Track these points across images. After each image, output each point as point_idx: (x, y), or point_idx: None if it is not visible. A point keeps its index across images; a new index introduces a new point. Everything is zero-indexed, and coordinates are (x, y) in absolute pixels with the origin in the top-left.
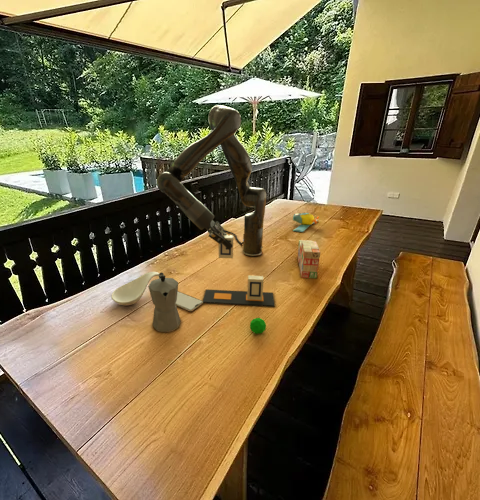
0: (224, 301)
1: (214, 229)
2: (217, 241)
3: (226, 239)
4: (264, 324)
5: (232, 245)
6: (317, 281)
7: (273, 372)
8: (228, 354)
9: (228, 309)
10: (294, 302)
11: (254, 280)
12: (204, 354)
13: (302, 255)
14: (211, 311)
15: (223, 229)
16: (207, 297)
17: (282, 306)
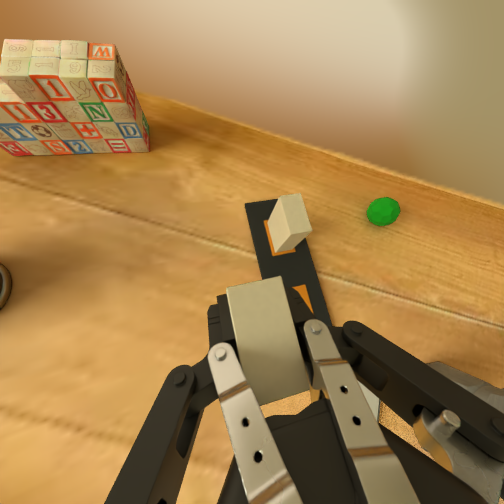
0: (318, 296)
1: (441, 471)
2: (378, 367)
3: (300, 319)
4: (388, 197)
5: None
6: (162, 124)
7: (435, 189)
8: (439, 249)
9: (335, 281)
10: (263, 166)
11: (306, 215)
12: (459, 284)
13: (92, 108)
14: (356, 314)
15: (172, 406)
16: None
17: (284, 185)
